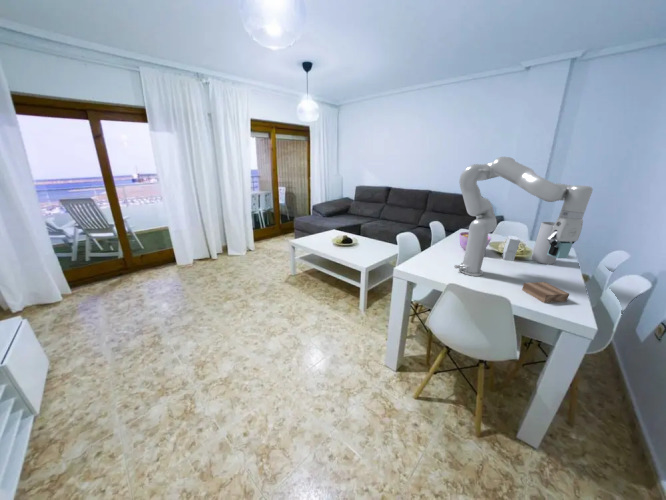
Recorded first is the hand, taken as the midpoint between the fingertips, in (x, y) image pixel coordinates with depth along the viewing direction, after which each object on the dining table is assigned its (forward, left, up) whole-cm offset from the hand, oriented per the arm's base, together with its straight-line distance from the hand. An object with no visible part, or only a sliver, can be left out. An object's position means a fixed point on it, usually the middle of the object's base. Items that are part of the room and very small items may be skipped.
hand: (557, 254), depth 114 cm
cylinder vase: (+42, +41, -22) cm, 62 cm away
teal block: (0, 0, -1) cm, 1 cm away
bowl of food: (+7, +63, -22) cm, 67 cm away
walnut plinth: (0, 0, -21) cm, 21 cm away
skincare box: (+22, +47, -22) cm, 56 cm away
